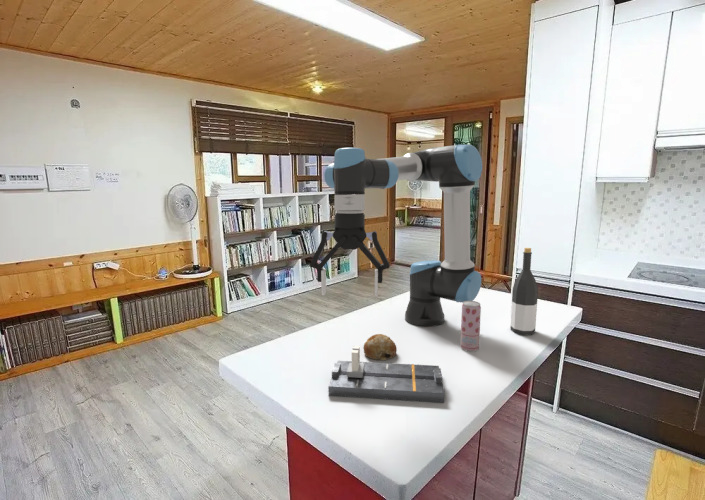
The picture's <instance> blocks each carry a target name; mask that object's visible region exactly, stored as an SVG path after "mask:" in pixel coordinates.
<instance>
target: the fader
mask: <svg viewBox="0 0 705 500" xmlns="http://www.w3.org/2000/svg"><path fill="white" fill-rule="evenodd" d="M360 348H361V346H360V345H359V346H358V345H356V346H355V345H354V346H353V347H352V350H351V361H352V363H349V366H348V370H347V377H356V378H363V373H364V363H360V362H361V361H360V360H361V359H360V356H361V355H360V354H361V353H360V352H361V349H360Z"/></svg>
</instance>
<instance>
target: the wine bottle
mask: <svg viewBox="0 0 705 500" xmlns="http://www.w3.org/2000/svg"><path fill="white" fill-rule="evenodd" d="M522 254H523V257H522V269H521V271H520V273H519V274H518V276H517V277H516V278H515V281H514V283H513V287H512V292H511V293H512V294H511V295H512V296H511V311H510V313H511V314H510V327H509V328H510V330H511V332H513V333H514V334H518V335H521V336H532V335H534V334H535V333H536V326H537V322H536V321H537V310H538V309H537V308H538V297H539V294H538V293H539V288H538V284H537V282H536V278H535V276H534V275H533V273H532V270H531V269H532V267H531V266H532V264H531V263H532V254H533V253H532V248H531V247H524V251H523V252H522Z"/></svg>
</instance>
